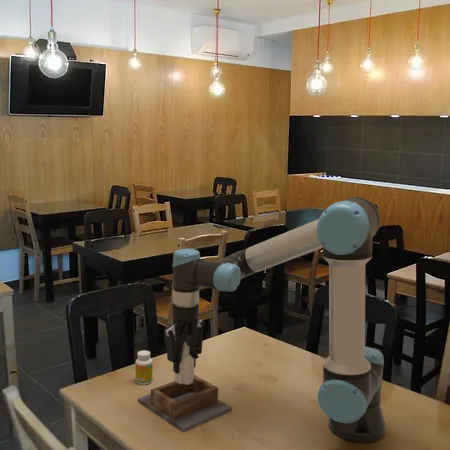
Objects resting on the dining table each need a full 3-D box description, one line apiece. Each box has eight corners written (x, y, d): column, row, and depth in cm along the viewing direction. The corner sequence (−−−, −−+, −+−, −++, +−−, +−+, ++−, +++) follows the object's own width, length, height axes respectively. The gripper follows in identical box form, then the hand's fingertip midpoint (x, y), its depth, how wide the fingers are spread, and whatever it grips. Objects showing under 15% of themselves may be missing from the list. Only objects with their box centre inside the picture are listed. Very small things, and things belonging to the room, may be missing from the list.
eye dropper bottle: (190, 376, 165) (191, 338, 163) (193, 384, 160) (194, 345, 158) (175, 377, 164) (176, 339, 162) (178, 386, 159) (179, 346, 157)
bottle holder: (232, 410, 162) (232, 393, 161) (183, 432, 150) (183, 413, 149) (185, 384, 178) (185, 367, 177) (137, 401, 166) (137, 384, 165)
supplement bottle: (147, 386, 175) (147, 357, 174) (132, 383, 177) (132, 354, 175) (155, 379, 180) (155, 350, 179) (140, 376, 182) (140, 348, 180)
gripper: (199, 294, 166) (198, 368, 170) (154, 305, 155) (153, 383, 159) (216, 301, 161) (214, 376, 165) (170, 312, 150) (169, 393, 154)
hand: (184, 380), depth 162 cm, fingers closed on eye dropper bottle, 3 cm apart
